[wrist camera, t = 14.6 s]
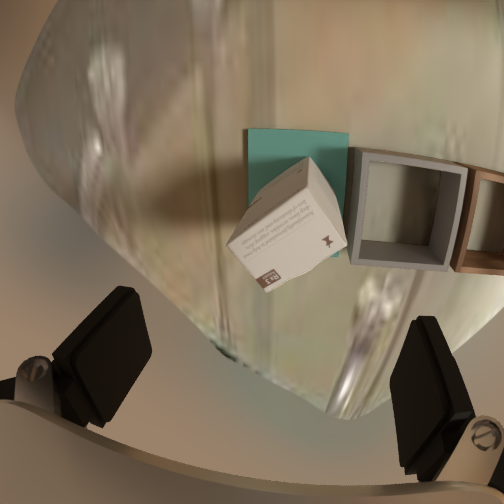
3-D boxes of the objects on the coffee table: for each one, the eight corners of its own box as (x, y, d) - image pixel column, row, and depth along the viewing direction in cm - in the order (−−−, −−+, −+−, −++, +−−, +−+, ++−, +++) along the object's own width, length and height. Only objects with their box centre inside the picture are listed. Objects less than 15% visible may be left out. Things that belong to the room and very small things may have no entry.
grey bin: (447, 160, 24) (467, 168, 20) (432, 251, 28) (447, 271, 24) (354, 147, 26) (362, 151, 22) (345, 244, 30) (350, 264, 26)
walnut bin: (521, 178, 22) (544, 188, 18) (504, 258, 26) (522, 276, 22) (455, 161, 24) (476, 170, 20) (439, 252, 28) (454, 272, 24)
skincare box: (308, 153, 26) (306, 178, 16) (337, 193, 27) (353, 244, 16) (255, 192, 29) (219, 241, 18) (284, 229, 30) (266, 297, 19)
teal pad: (347, 133, 25) (348, 133, 25) (337, 254, 30) (338, 257, 30) (249, 128, 27) (248, 128, 26) (249, 248, 32) (248, 250, 31)
